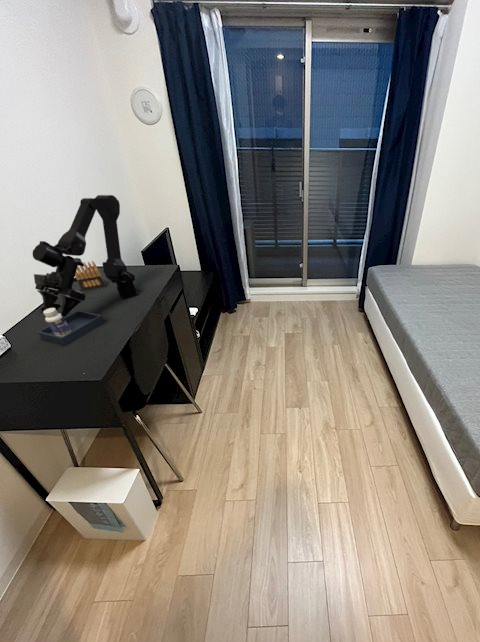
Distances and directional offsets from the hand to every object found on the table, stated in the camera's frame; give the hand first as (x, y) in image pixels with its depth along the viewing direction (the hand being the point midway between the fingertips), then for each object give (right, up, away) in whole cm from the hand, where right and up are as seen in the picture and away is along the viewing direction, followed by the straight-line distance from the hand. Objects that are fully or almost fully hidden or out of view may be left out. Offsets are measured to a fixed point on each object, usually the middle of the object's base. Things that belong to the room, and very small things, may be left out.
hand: (54, 314), depth 118 cm
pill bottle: (0, -6, +5) cm, 8 cm away
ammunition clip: (-9, +20, +37) cm, 43 cm away
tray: (+2, -4, +8) cm, 9 cm away
